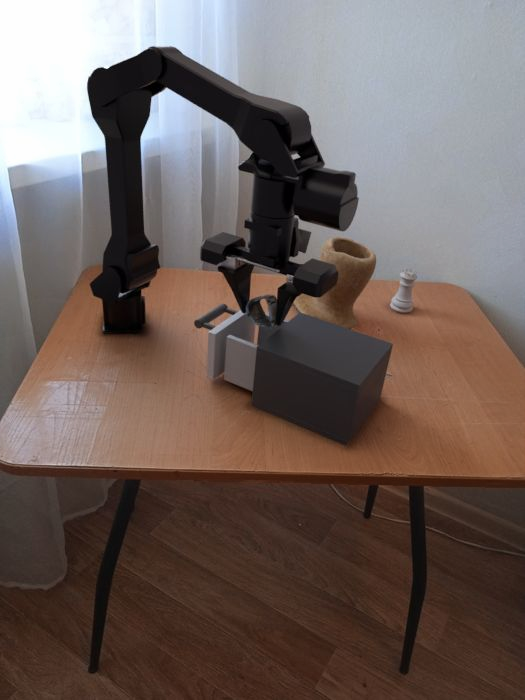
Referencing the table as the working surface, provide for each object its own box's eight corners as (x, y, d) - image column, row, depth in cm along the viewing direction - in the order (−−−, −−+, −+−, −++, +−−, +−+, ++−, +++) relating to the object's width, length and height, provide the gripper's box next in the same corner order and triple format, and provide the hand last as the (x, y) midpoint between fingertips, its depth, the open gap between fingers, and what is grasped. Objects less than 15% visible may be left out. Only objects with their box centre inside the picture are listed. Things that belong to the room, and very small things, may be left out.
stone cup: (374, 334, 100) (391, 256, 93) (312, 339, 97) (325, 258, 89) (339, 297, 113) (352, 224, 105) (284, 300, 109) (292, 226, 101)
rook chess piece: (415, 308, 111) (424, 271, 107) (407, 316, 108) (417, 278, 104) (394, 301, 113) (402, 264, 109) (386, 309, 110) (394, 271, 106)
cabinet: (251, 405, 79) (256, 346, 74) (292, 366, 89) (299, 312, 84) (346, 446, 74) (359, 385, 69) (379, 399, 83) (393, 343, 78)
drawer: (183, 368, 84) (184, 322, 80) (226, 338, 93) (228, 295, 89) (287, 411, 77) (293, 364, 73) (322, 374, 86) (329, 330, 82)
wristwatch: (269, 329, 82) (255, 298, 82) (288, 320, 78) (272, 287, 78) (254, 336, 81) (239, 305, 81) (271, 328, 76) (256, 295, 76)
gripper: (363, 214, 74) (343, 317, 83) (244, 184, 82) (237, 282, 90) (328, 236, 66) (310, 348, 74) (199, 200, 73) (196, 306, 81)
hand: (262, 318), depth 80 cm, fingers closed on wristwatch, 5 cm apart
